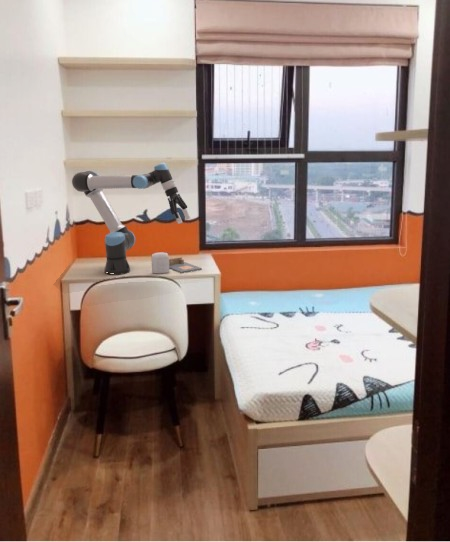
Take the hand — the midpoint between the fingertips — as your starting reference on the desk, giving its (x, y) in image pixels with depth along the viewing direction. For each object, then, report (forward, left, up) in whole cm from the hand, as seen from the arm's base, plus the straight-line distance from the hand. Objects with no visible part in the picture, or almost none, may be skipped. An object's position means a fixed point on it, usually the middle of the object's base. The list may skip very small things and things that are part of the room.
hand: (184, 221), depth 316 cm
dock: (-2, 0, -29) cm, 29 cm away
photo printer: (-18, -2, -29) cm, 35 cm away
